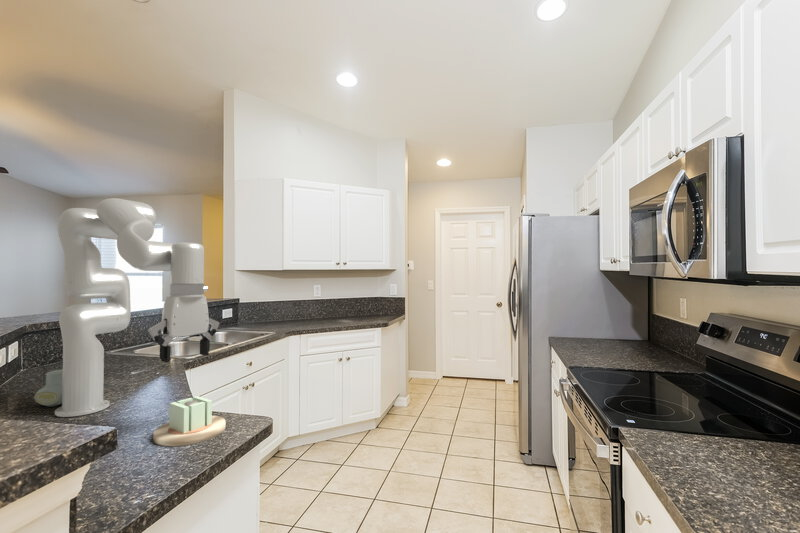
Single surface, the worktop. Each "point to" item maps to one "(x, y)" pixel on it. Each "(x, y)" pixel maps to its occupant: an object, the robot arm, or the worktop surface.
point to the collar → (190, 414)
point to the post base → (176, 438)
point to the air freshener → (51, 389)
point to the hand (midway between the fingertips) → (185, 358)
